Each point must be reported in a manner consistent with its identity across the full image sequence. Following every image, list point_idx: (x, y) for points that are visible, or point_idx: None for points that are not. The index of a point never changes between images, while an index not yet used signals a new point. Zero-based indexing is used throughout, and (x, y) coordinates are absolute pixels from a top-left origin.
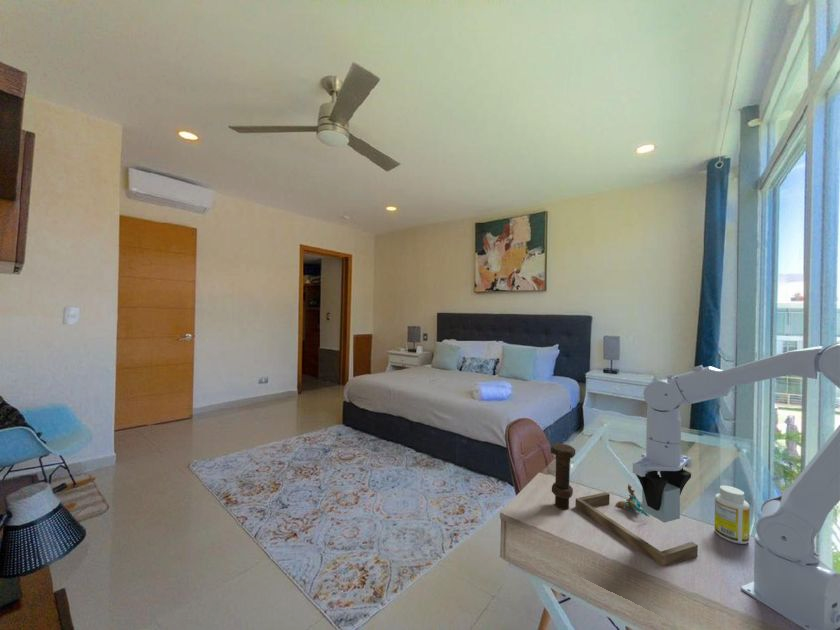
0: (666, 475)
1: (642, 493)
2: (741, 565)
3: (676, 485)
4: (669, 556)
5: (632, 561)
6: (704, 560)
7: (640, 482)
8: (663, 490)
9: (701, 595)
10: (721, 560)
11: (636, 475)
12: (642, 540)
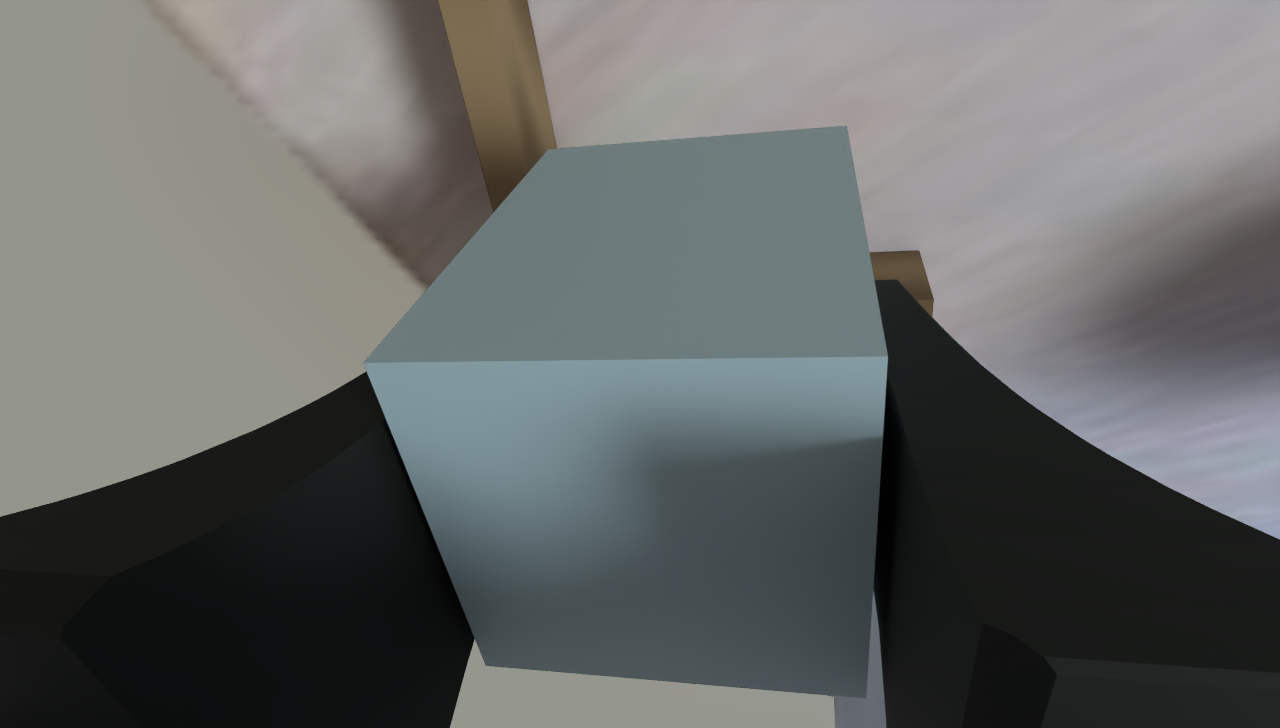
0: (921, 648)
1: (464, 249)
2: (1134, 407)
3: (889, 671)
4: None
5: (414, 193)
6: (935, 313)
7: (221, 453)
8: (505, 645)
9: None
10: (1062, 344)
11: (38, 512)
12: (515, 180)
